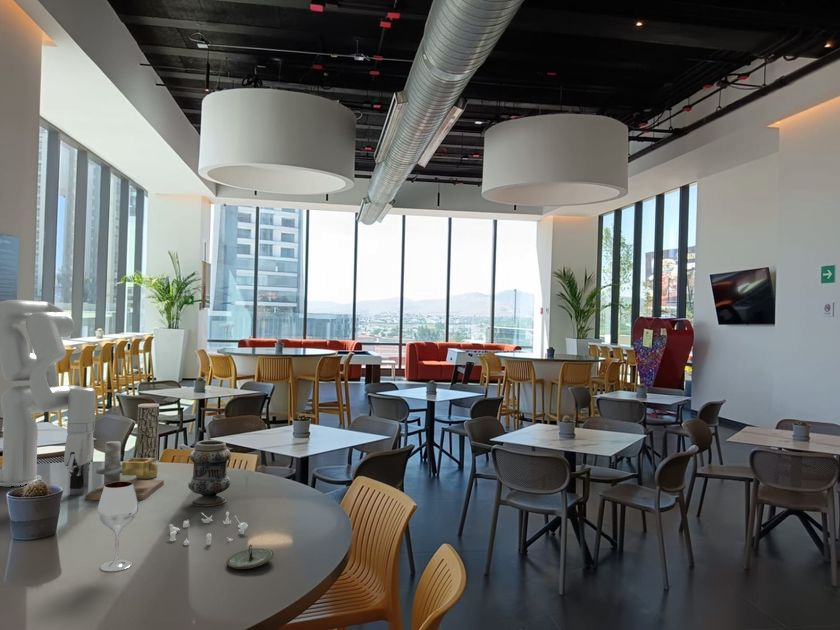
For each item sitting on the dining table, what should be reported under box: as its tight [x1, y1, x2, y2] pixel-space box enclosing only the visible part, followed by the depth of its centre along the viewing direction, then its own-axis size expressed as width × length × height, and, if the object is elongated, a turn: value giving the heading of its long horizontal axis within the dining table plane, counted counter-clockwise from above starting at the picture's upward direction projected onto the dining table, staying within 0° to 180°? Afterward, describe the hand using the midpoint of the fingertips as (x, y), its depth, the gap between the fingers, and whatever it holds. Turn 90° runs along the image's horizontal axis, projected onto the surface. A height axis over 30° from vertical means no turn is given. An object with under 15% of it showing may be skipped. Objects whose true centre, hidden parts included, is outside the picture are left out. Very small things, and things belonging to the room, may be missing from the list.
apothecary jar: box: [187, 439, 232, 508], centre depth 191 cm, size 12×12×18 cm
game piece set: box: [168, 510, 249, 546], centre depth 163 cm, size 19×20×4 cm
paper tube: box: [135, 402, 160, 480], centre depth 219 cm, size 7×7×25 cm
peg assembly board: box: [84, 440, 165, 501], centre depth 200 cm, size 18×18×16 cm
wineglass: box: [96, 481, 139, 573], centre depth 140 cm, size 8×8×18 cm
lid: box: [226, 544, 275, 570], centre depth 143 cm, size 11×10×5 cm
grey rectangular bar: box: [69, 462, 90, 496], centre depth 197 cm, size 4×3×11 cm
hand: (79, 486), depth 197 cm, fingers open, 3 cm apart
